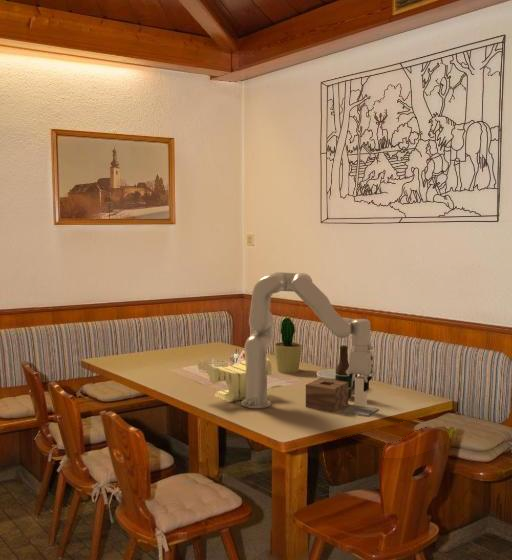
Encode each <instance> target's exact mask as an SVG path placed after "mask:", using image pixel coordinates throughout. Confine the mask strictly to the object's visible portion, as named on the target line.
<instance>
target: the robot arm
mask: <svg viewBox="0 0 512 560" xmlns="http://www.w3.org/2000/svg"><path fill="white" fill-rule="evenodd" d="M280 292H293V293H295V295H297V297H299V298H300V299H301V300H302V302H304V303H305V305H307V306H308V307H309V308H310V309H311V310H312V311H313V313H314V315H316V317H317V318H318V319H319V320H320V321H321V322H322V323H323V325H324V326H325V327H326V328H327V329H328V330H329V331H330V332H331V333H332V334H333V335H334V336H336V337H337V338H340V339H345V338H347V337H349V335H351V337H352V346H351V347H352V350H350V355H349V358H348V363H349V367H348V369H347V370H346V373H347V374H348V375H349V376H350V377H351V378H352V380H353V386H352V388H353V391H355V378H356V377H357V376H358V374H359V376H361V375H362V376H363V377H364V378H365V382H364V391H367V392H368V391H369V388H370V381H371V380H373V378H375V377H376V376H377V373H376V371H375V363H374V355H373V354H374V353H373V351H372V350H373V349H374V347H373V346H372V345H371V321H370V320H369V319H366V318H349V317H342V316H341V315H340V314H339V313H338V312H337V311H336V310H335V308H334V307H333V305H332V303H331V302H330V299H329V298H328V296H327V295H326V294H325V293H324V292H323V291H322V290H320V289H319V287H318V286H317V285H316V284H315V283H314V282H313V279H312V277H311V275H309V274H307V273H304V272H283V271H282V272H279V271H277V272H274V273H270V274H268V275H265V276H264V277H261V278H260V279H259V280H258V281H257V282H256V283H255V284H254V286H253V289H252V293H251V301H250V310H249V315H248V316H249V318H248V325H249V328H250V329H251V331H250V332H251V334H250V336H249V337H247V339H246V341H245V343H244V358H245V359H244V361H245V362H246V396H245V399H244V400H240V404H241V406H243V407H244V408H247V409H265V408H268V407H270V406H271V405H272V403H271V401H270V400H269V399H268V375H267V358H268V357H267V351H268V350H269V348H270V346H271V344H272V336H273V335H272V334H273V326H274V316H273V314H272V312H271V310H270V309H271V299H272V296H273V295H274V294H277V293H280Z"/></svg>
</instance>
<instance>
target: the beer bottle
mask: <svg viewBox="0 0 512 560" xmlns="http://www.w3.org/2000/svg"><path fill="white" fill-rule="evenodd" d="M339 349H340V351H339V363H338V364H337V366H336V368H335V369H336V373H335V380H337V381H344V382H348V399H351V397H352V390H353V386H352V378H351V377H350V376H349V375H348V374H347V373H346V370H347V369H348V367H349V356H348V349H349V348H348V345H345V344H344V345H340V347H339Z"/></svg>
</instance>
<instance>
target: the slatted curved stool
mask: <svg viewBox="0 0 512 560" xmlns="http://www.w3.org/2000/svg"><path fill="white" fill-rule="evenodd" d="M266 358H267V376H272V363H271V360H270V359H269V358H268V357H266ZM197 367H198V368H200V369H202V370H203V371H205V373H206V374H207V375H208V378H209V380H210V381H209V382H210V383H212V384H215V385H216V384H218V383H219V382H226V383H225V384H226V385H227V387H228V389H225V390H219V391H218V390H217V391H216V392H215V394H214V397H215V398H216V397H217V398H218V397H219V398H218V399H220V398H221V399H220V400H222V399H223V401H224V400H226V401H225V402H227V401H228V402H227V403H231V402H237V400H238V401H243V400H245V396H246V362H245V360H242V361H240V362H238V363H235V364H232V365H231V366H230V365H229V366H223V367H222V366H213V365H210V364H207V363H205V362H203V361H199V360H197Z"/></svg>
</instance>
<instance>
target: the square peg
mask: <svg viewBox="0 0 512 560" xmlns="http://www.w3.org/2000/svg"><path fill="white" fill-rule="evenodd" d="M364 382H365V378H364V376H363V375H362V376H361V375H359V376H358V377H356V378H355V390H354V405H355V406H362V407H364V406H367V405H368V390H367V391H364Z"/></svg>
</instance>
